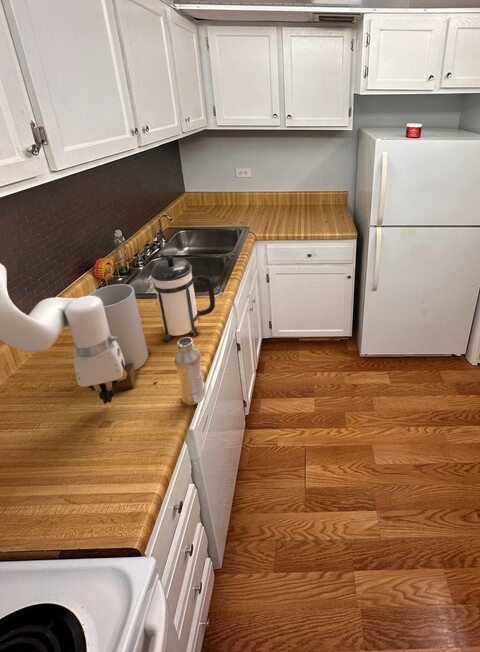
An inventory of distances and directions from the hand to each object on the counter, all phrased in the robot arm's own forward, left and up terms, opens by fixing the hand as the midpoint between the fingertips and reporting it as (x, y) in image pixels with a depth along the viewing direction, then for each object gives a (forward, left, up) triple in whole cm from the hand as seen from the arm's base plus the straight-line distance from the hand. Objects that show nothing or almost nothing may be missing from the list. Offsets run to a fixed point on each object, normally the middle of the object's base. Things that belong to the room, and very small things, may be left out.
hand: (108, 398), depth 89 cm
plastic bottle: (+21, -5, -4) cm, 22 cm away
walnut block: (+2, +8, -3) cm, 9 cm away
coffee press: (+19, +29, -4) cm, 35 cm away
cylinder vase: (+1, +17, -4) cm, 18 cm away
